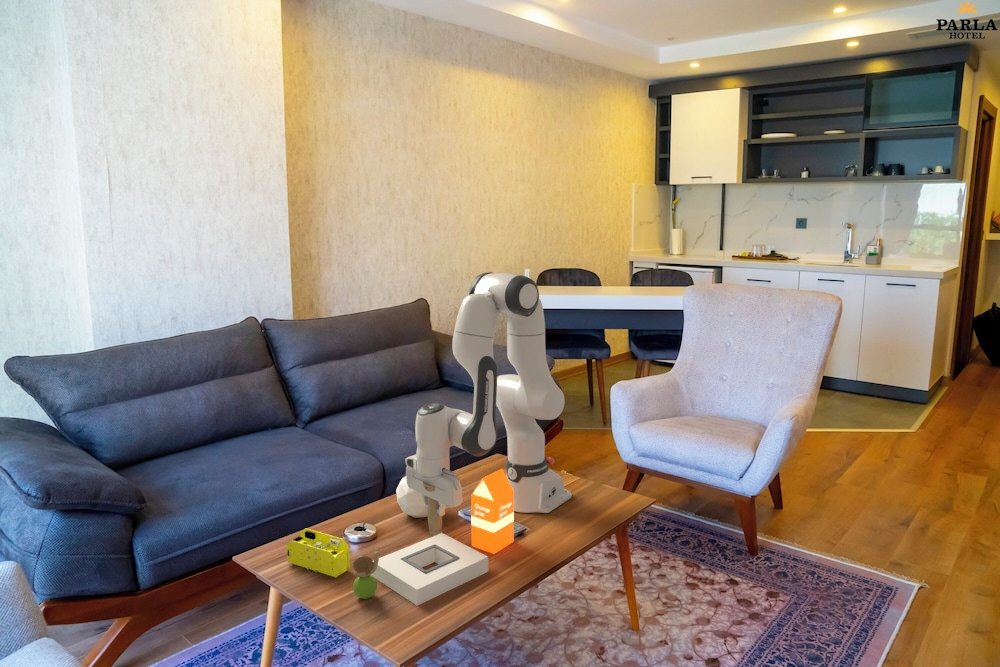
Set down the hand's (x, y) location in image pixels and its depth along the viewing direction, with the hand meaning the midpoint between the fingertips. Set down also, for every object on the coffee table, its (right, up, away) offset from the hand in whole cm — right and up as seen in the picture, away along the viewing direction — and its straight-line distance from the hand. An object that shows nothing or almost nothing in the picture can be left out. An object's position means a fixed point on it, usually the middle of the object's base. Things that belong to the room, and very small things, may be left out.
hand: (434, 511), depth 197 cm
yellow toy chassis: (-28, -11, -15) cm, 33 cm away
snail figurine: (-13, -13, -29) cm, 34 cm away
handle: (0, -6, +1) cm, 7 cm away
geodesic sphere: (-6, -5, +15) cm, 17 cm away
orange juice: (+16, -8, -3) cm, 18 cm away
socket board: (+1, -11, -18) cm, 21 cm away
